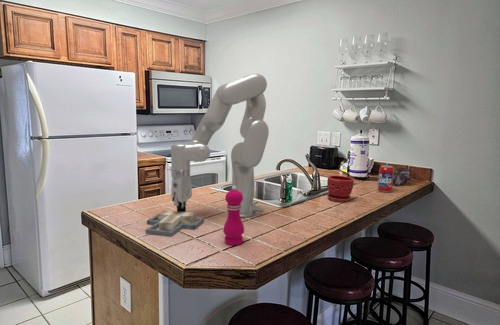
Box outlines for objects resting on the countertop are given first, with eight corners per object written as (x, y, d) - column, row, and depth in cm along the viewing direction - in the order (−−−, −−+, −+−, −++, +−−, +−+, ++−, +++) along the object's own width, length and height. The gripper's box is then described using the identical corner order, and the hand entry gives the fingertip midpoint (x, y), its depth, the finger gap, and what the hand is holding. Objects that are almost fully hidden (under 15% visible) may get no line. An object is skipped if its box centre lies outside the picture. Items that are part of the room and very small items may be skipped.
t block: (195, 222, 134) (195, 212, 134) (183, 234, 121) (183, 224, 120) (163, 219, 136) (163, 210, 136) (147, 231, 123) (147, 221, 122)
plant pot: (343, 204, 163) (344, 181, 162) (321, 199, 173) (322, 176, 171) (357, 200, 172) (358, 177, 170) (335, 195, 182) (337, 174, 180)
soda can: (393, 190, 194) (395, 165, 192) (390, 193, 188) (393, 167, 185) (379, 189, 198) (381, 164, 196) (376, 191, 192) (378, 166, 189)
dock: (203, 222, 134) (203, 218, 134) (184, 238, 117) (184, 234, 117) (159, 217, 139) (159, 213, 139) (133, 232, 122) (133, 228, 122)
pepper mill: (223, 238, 118) (223, 183, 115) (243, 237, 118) (244, 183, 115) (223, 246, 111) (223, 188, 108) (244, 245, 111) (245, 188, 108)
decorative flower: (381, 167, 218) (404, 161, 216) (383, 182, 222) (405, 176, 221) (390, 177, 204) (414, 171, 203) (392, 193, 209) (416, 187, 208)
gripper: (180, 177, 126) (181, 223, 129) (196, 170, 141) (197, 212, 143) (163, 176, 128) (164, 221, 131) (180, 169, 143) (181, 210, 145)
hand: (181, 216), depth 137 cm, fingers closed
